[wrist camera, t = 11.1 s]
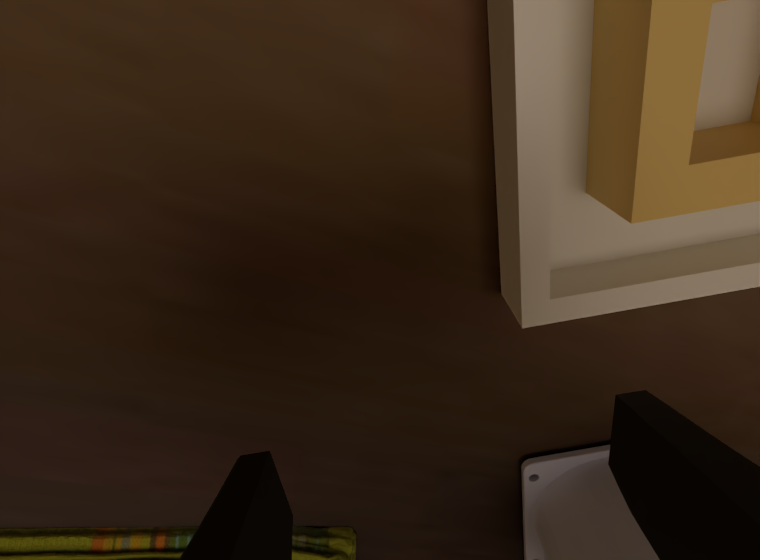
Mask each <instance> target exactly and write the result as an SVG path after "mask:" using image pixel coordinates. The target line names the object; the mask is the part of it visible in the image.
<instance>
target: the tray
mask: <svg viewBox="0 0 760 560" xmlns="http://www.w3.org/2000/svg"><path fill="white" fill-rule="evenodd" d="M487 11H488V32H489V52H490V72H491V93H492V113H493V134H494V154H495V174H496V195H497V215H498V236H499V256H500V276H501V294H502V296H503V297H504V299H505V301H506V302H507V304H508V306H509V307H510V309H511V311H512V312H513V314H514V316H515V317H516V319H517V321H518V323H519V324H520V326H521V328H527V327H533V326H539V325H544V324H550V323H556V322H561V321H567V320H573V319H578V318H584V317H590V316H595V315H601V314H607V313H612V312H618V311H624V310H629V309H635V308H641V307H646V306H652V305H658V304H663V303H669V302H675V301H680V300H686V299H692V298H697V297H703V296H709V295H714V294H720V293H726V292H731V291H737V290H743V289H748V288H754V287H760V201H756V202H751V203H745V204H739V205H734V206H728V207H723V208H717V209H711V210H706V211H700V212H695V213H689V214H683V215H678V216H672V217H666V218H661V219H655V220H650V221H644V222H638V223H633V224H631V223H629V222H628V221H626V220H625V219H624V218H622V217H621V216H619V215H618V214H616V213H615V212H613V211H612V210H610V209H609V208H608V207H606V206H605V205H603V204H602V203H600V202H599V201H597V200H596V199H594V198H593V197H591V196H590V195H589V194H587V193H586V178H587V155H588V132H589V109H590V87H591V64H592V41H593V18H594V0H487ZM759 74H760V0H727V1H722V2H717V3H712V9H711V16H710V23H709V29H708V36H707V43H706V50H705V57H704V64H703V71H702V77H701V84H700V91H699V98H698V105H697V112H696V119H695V126H694V131H697V130H703V129H708V128H714V127H719V126H725V125H730V124H736V123H741V122H747V121H750V119H751V114H752V109H753V104H754V99H755V94H756V89H757V84H758V79H759Z"/></svg>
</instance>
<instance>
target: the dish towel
mask: <svg viewBox="0 0 760 560" xmlns="http://www.w3.org/2000/svg"><path fill="white" fill-rule="evenodd" d="M198 528H199V527H135V528H92V527H87V528H30V529H27V528H12V529H0V560H179V559H180V557H181V555H182V554H183V552H184V550H185V549H186V547H187V545H188V544H189V542H190V541H191V539H192V537H193V536H194V534H195V532H196V531H197V529H198ZM355 557H356V533H355V532H354V531H353V529H352V528H351V527H325V528H319V529H318V528H314V527H308V526H293V532H292V560H355Z"/></svg>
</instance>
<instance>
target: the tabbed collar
mask: <svg viewBox="0 0 760 560" xmlns="http://www.w3.org/2000/svg"><path fill="white" fill-rule="evenodd" d="M722 1H727V0H594V18H593V41H592V64H591V87H590V109H589V132H588V155H587V178H586V193H587V194H589V195H590V196H591V197H593V198H594V199H596V200H597V201H599V202H600V203H602V204H603V205H605V206H606V207H608V208H609V209H610V210H612V211H613V212H615V213H616V214H618V215H619V216H621V217H622V218H624V219H625V220H626V221H628V222H629V223H631V224H633V223H638V222H644V221H650V220H655V219H661V218H666V217H672V216H678V215H683V214H689V213H695V212H700V211H706V210H711V209H717V208H723V207H728V206H734V205H739V204H745V203H751V202H756V201H760V74H759V79H758V84H757V89H756V94H755V99H754V104H753V109H752V114H751V119H750V121H747V122H741V123H736V124H730V125H725V126H719V127H714V128H708V129H703V130H697V131H694V126H695V119H696V112H697V105H698V98H699V91H700V84H701V77H702V71H703V64H704V57H705V50H706V43H707V36H708V29H709V23H710V16H711V9H712V3H717V2H722Z"/></svg>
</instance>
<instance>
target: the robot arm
mask: <svg viewBox="0 0 760 560" xmlns="http://www.w3.org/2000/svg"><path fill="white" fill-rule="evenodd" d="M521 474H522V505H523V535H524V560H760V467H759V466H757V465H756V464H754V463H753V462H751V461H750V460H748V459H747V458H745V457H744V456H742V455H741V454H739V453H738V452H736V451H734V450H733V449H731V448H730V447H728V446H727V445H725V444H724V443H722V442H721V441H719V440H718V439H717V438H715V437H714V436H712V435H711V434H709V433H708V432H706V431H705V430H703V429H702V428H700V427H699V426H697V425H696V424H694V423H693V422H692V421H690V420H689V419H687V418H686V417H684V416H683V415H681V414H680V413H678V412H677V411H676V410H674V409H673V408H671V407H670V406H668V405H667V404H665V403H664V402H662V401H661V400H659V399H658V398H656V397H655V396H653V395H652V394H650V393H649V392H647V391H646V390H643V391H637V392H631V393H625V394H618V395H616V398H615V407H614V416H613V425H612V434H611V443H610V445H604V446H599V447H593V448H587V449H581V450H576V451H570V452H564V453H558V454H552V455H547V456H541V457H535V458H530V459H527V460H526V461H524V462H523V464H522V466H521ZM292 532H293V514H292V511H291V509H290V506H289V503H288V500H287V498H286V495H285V492H284V489H283V486H282V484H281V481H280V478H279V475H278V473H277V470H276V467H275V464H274V462H273V459H272V456H271V453H270V451H266V452H260V453H254V454H248V455H242V456H240V457H239V458H238V460H237V461H236V463H235V465H234V466H233V468H232V470H231V472H230V474H229V475H228V477H227V479H226V481H225V483H224V484H223V486H222V488H221V490H220V491H219V493H218V495H217V497H216V498H215V500H214V502H213V504H212V505H211V507H210V509H209V511H208V512H207V514H206V516H205V517H204V519H203V521H202V523H201V524H200V526H199V528H198V529H197V531H196V532H195V534H194V536H193V537H192V539H191V541H190V542H189V544H188V545H187V547H186V549H185V550H184V552H183V554H182V555H181V557H180V559H179V560H292Z"/></svg>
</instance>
